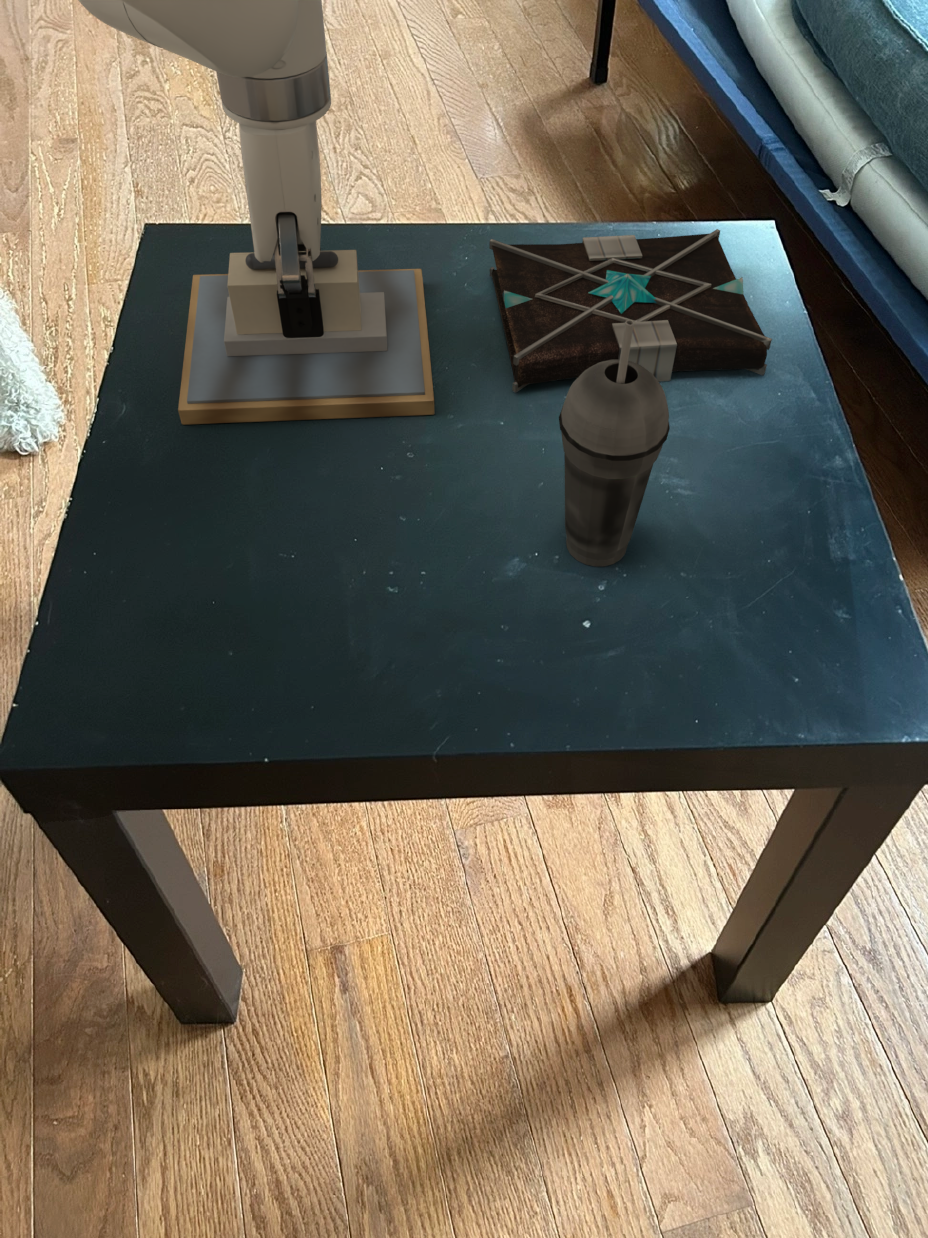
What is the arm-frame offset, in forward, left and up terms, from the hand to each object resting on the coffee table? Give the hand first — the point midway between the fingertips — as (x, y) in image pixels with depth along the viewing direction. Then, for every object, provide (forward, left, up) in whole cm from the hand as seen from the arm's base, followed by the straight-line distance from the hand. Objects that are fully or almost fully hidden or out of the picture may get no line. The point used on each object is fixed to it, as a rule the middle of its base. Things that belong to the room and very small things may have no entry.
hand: (303, 305), depth 90 cm
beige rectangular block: (0, 0, -3) cm, 3 cm away
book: (+27, +2, -5) cm, 27 cm away
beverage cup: (+21, -24, -5) cm, 32 cm away
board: (0, 0, -4) cm, 4 cm away
